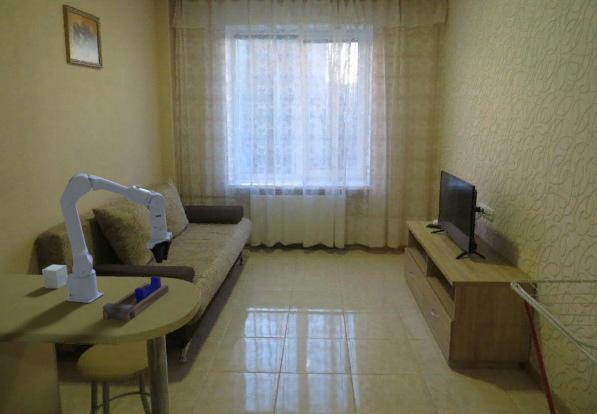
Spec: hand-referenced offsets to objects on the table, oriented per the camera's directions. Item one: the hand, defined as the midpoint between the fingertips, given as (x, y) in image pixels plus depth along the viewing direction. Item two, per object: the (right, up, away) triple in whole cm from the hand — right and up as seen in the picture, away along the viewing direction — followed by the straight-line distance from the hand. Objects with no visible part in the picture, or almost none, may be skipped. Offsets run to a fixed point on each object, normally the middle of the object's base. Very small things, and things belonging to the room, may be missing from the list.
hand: (161, 261), depth 172 cm
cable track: (-4, -13, -14) cm, 19 cm away
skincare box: (-41, -10, +5) cm, 43 cm away
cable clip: (-2, -12, -9) cm, 16 cm away
